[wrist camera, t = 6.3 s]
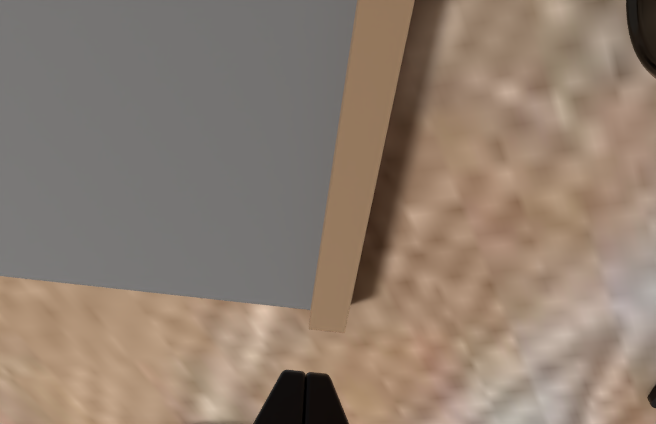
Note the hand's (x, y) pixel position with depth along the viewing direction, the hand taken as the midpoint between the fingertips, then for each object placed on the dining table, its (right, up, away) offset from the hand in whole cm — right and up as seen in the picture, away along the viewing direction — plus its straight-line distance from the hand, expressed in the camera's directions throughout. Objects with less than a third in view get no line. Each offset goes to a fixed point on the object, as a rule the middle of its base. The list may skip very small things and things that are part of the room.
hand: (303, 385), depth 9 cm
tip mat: (-6, +7, +9) cm, 13 cm away
